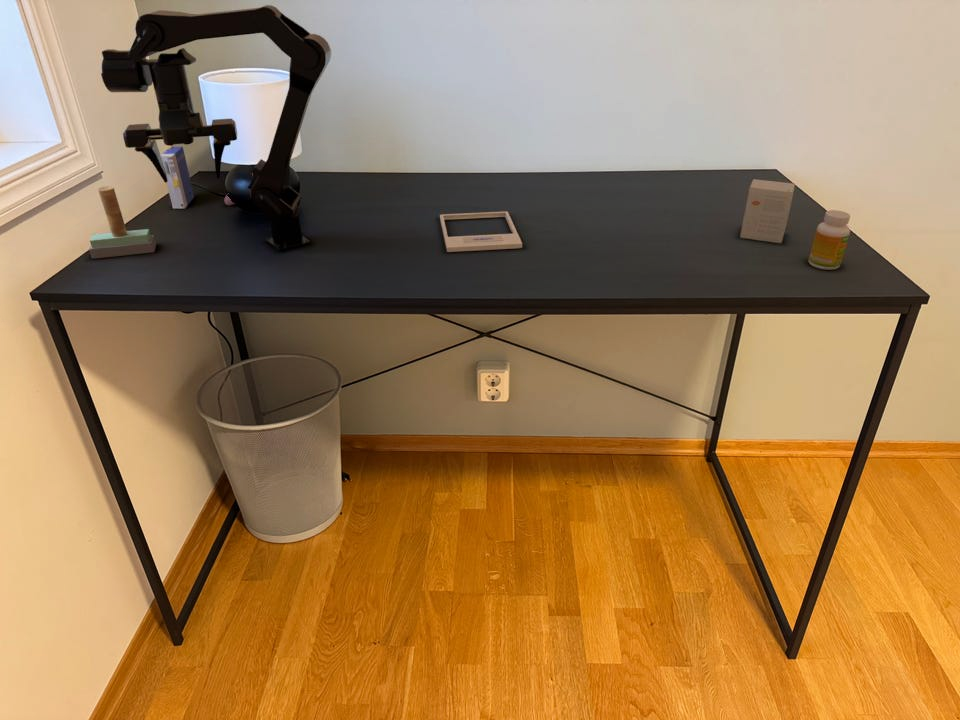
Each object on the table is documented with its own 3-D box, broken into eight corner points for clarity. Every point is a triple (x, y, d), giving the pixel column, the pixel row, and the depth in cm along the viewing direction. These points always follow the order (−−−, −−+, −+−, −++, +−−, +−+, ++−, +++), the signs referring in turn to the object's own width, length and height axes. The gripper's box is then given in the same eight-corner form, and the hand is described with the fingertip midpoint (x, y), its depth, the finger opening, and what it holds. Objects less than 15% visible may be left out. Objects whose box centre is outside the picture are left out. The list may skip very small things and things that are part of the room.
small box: (783, 234, 139) (796, 183, 133) (781, 244, 134) (794, 191, 129) (742, 228, 142) (753, 178, 136) (738, 238, 137) (749, 186, 132)
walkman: (182, 197, 159) (169, 145, 153) (194, 197, 160) (182, 144, 153) (172, 209, 153) (158, 154, 146) (184, 208, 153) (171, 154, 147)
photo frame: (446, 246, 131) (439, 213, 146) (447, 252, 131) (439, 218, 147) (522, 242, 132) (507, 210, 148) (522, 248, 133) (507, 215, 148)
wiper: (156, 244, 136) (139, 182, 129) (154, 252, 132) (136, 188, 126) (95, 251, 133) (75, 187, 126) (92, 259, 130) (70, 194, 123)
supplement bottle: (837, 273, 123) (852, 221, 118) (805, 266, 126) (819, 215, 120) (841, 262, 127) (856, 212, 122) (810, 256, 129) (824, 206, 124)
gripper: (107, 104, 111) (132, 198, 120) (227, 98, 116) (244, 188, 124) (117, 91, 120) (141, 179, 129) (228, 85, 125) (244, 171, 133)
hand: (192, 179), depth 128 cm, fingers open, 9 cm apart
